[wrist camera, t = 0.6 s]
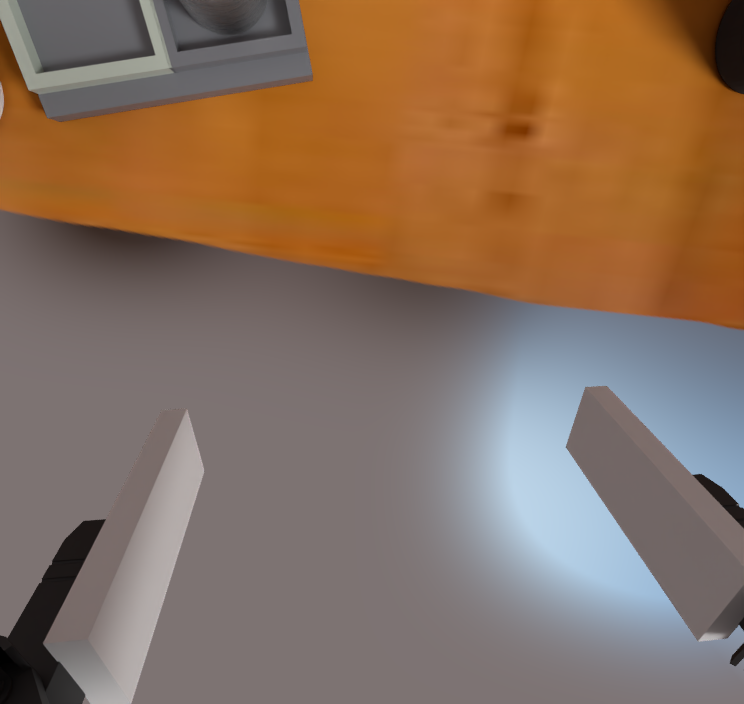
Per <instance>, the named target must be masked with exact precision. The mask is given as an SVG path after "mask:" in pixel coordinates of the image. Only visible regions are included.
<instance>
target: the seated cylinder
mask: <svg viewBox="0 0 744 704" xmlns="http://www.w3.org/2000/svg"><path fill="white" fill-rule="evenodd" d="M267 1H268V0H180V2H181V3H182V5H183V6H184V8H185V9H186V10H187V12H188V13H189V15H190V16H191V17H192V18H193V19H194V20H195V21H196V22H197V23H198V24H200V25H201V26H202V27H204V28H205V29H207V30H209V31H211V32H214V33H216V34H220V35H237V34H241V33H243V32H246V31H247V30H249V29H251V28H252V27H253V26H254V25H255V24H256V23H257V22H258V21H259V20H260V18H261V16H262V15H263V13H264V10H265V8H266V5H267Z"/></svg>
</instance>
